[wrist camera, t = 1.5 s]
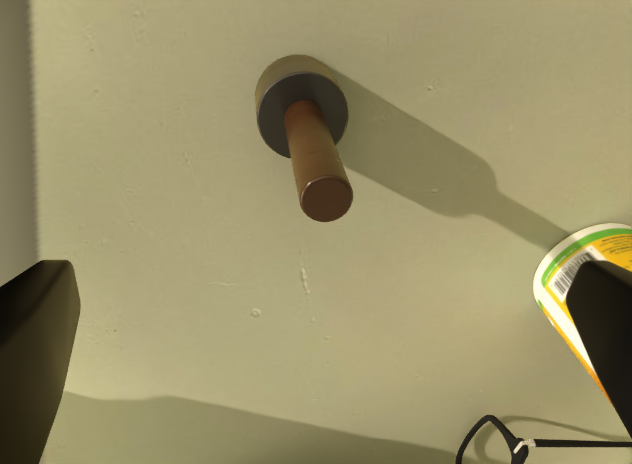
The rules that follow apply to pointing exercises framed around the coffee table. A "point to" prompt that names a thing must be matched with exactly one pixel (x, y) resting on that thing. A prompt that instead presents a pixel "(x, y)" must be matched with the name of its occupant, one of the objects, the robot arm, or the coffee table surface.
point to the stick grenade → (307, 131)
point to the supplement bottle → (559, 271)
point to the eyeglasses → (529, 442)
